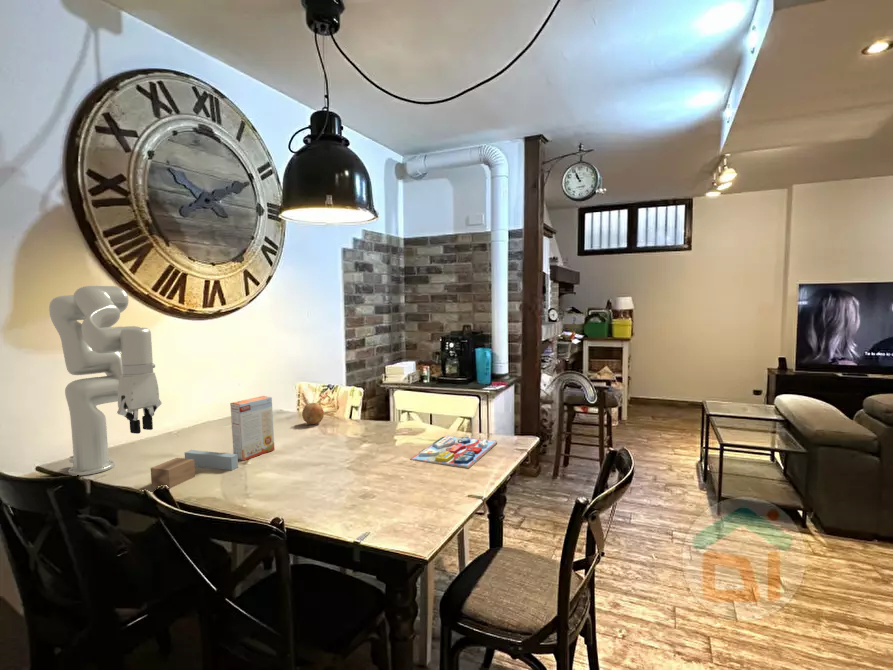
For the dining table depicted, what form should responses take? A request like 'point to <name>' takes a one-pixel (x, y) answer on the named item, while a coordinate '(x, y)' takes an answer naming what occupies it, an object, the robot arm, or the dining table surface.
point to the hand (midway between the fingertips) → (141, 430)
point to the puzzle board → (455, 451)
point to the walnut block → (172, 472)
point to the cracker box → (252, 427)
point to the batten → (213, 459)
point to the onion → (313, 413)
